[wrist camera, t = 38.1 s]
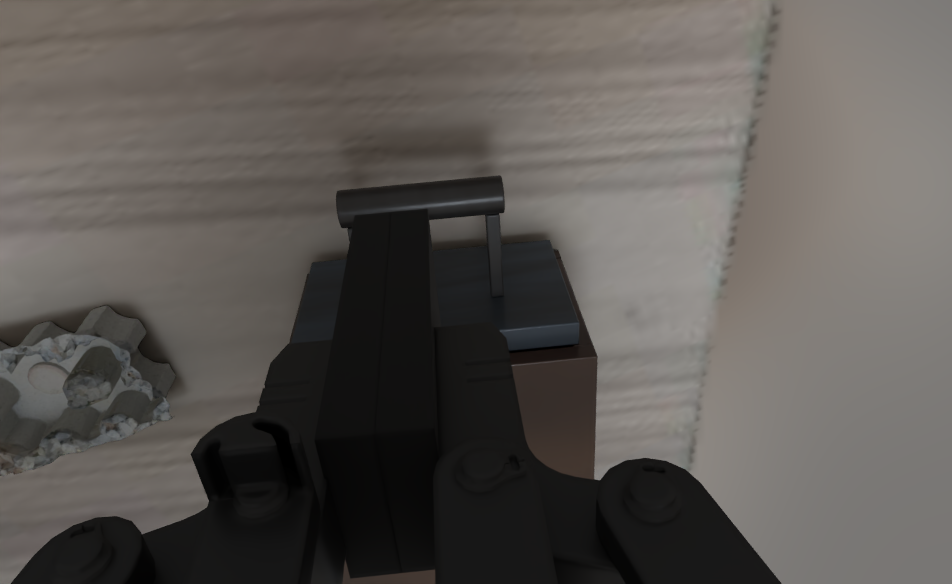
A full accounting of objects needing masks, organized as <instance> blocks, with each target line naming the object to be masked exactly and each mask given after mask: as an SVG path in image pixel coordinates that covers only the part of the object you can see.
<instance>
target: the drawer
mask: <svg viewBox="0 0 952 584" xmlns="http://www.w3.org/2000/svg"><path fill="white" fill-rule="evenodd" d="M336 206H337V214H338V219H339V223H340V226H341V227H342V228H348V229H347V230H348V236H349V241H350V239H351V233H352V228H353V222H354V217H355V215H364V214H374V213H385V212H396V211H406V210H417V209H427V208H428V217H429V220H434V219H444V218H455V217H465V216H476V215H485V221H486V236H487V246H481V247H470V248H460V249H449V250H439V251H433V260H434V268H435V277H436V286H437V294H438V303H439V311H440V322H441V327H442V326H453V325H463V324H473V323H483V322H492V323H493V324H494V325H495V326H496V327H497V328H498V329H499V331H500V332H501V333H502V334H503V335H504V336H505V337H506V339H507V344H508V349H509V353H515V352H525V351H535V350H545V349H555V348H554V346H564V345H574V344H579V320H578V318H577V315H576V312H575V309H574V306H573V304H572V301H571V298H570V295H569V292H568V290H567V287H566V284H565V281H564V278H563V276H562V273H561V270H560V267H559V264H558V262H557V259H556V256H555V253H554V250H553V248H552V245H551V242H550V240H543V241H533V242H522V243H512V244H502V245H501V233H500V216H499V213H504V210H505V204H504V190H503V182H502V177H501V176H489V177H479V178H468V179H457V180H447V181H436V182H425V183H414V184H404V185H393V186H382V187H371V188H361V189H350V190H339V191H337V194H336ZM346 261H347V259H345V260H335V261H324V262H314V263H312V266H311V269H310V273H309V277H308V281H307V284H306V288H305V292H304V296H303V299H302V303H301V307H300V311H299V314H298V318H297V322H296V326H295V329H294V333H293V337H292V341H291V343H300V342H311V341H321V340H331V339H333V333H334V328H335V322H336V317H337V311H338V305H339V300H340V294H341V289H342V283H343V278H344V272H345V267H346Z"/></svg>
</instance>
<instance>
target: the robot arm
mask: <svg viewBox="0 0 952 584" xmlns="http://www.w3.org/2000/svg"><path fill="white" fill-rule="evenodd" d="M264 385H265V388H263V391H262V394H261V397H260V401H259V403H260V406H258V408H257V411H256V412H254V413H250V414H245V415H241V416H237V417H234V418H232V419H230V420H228V421H226V422H224V423H222V424H219V425H217V426H216V427H214V428H213V429H212V430H211V431H210V432H208V433H207V434H206V435H205V436H204V437H202V438H201V439H200V440H199V442H198V444H197V445H196V447H195V448H194V450H193V451H192V453H191V456H192V459H193V461H194V464H195V466H196V469H197V471H198V474H199V477H200V479H201V482H202V484H203V487H204V489H205V492H206V494H207V497H208V499H209V503H208V507H207V508H205V509H204V510H202V511H201V512H199V513H197V514H195V515H193V516H191V517H188V518H186V519H184V520H181V521H179V522H176V523H173V524H170V525H167V526H165V527H162V528H159V529H156V530H153V531H151V532H148V533H145V534H141V532H140V531H139V530H138V528H137V527H136V526H135V525H134V523H133V522H132V521H129V520H126V519H123V518H120V517H117V516H113V517H99V518H94V519H91V520H88V521H85V522H82V523H79V524H76V525H73V526H72V527H70V528H68V529H67V530H65V531H63V532H62V533H60V534H58V535H57V536H55V537H54V538H52V539H51V540H50V541H49V542H48V543H47V544H46V545H44V546H43V547H42V548H41V549H40V550H39V551H38V552H37V553H36V554H35V555H34V556H33V557H32V558H31V560H30V561H29V562H28V563H27V565H26V566H25V567H24V568H23V569H22V571H21V572H20V573H19V574H18V575H17V577H16V578H15V579H14V580H13V582H12V583H11V584H342V583H343V573H344V564H345V560H346V564H347V568H348V572H349V576H350V579H352V578H361V577H371V576H380V575H389V574H399V573H408V572H417V571H427V570H435V584H781V582H780V581H779V580H778V579H777V578H776V576H775V575H774V574H773V572H772V571H771V570H770V569H769V567H768V566H767V565H766V564H765V563H764V561H763V560H762V559H761V558H760V556H759V555H758V554H757V553H756V551H755V550H754V549H753V548H752V546H751V545H750V544H749V543H748V542H747V540H746V539H745V538H744V536H743V535H742V534H741V533H740V532H739V530H738V529H737V528H736V526H735V525H734V524H733V523H732V522H731V520H730V519H729V518H728V517H727V515H726V514H725V513H724V512H723V511H722V509H721V508H720V507H719V506H718V504H717V503H716V502H715V500H714V499H713V498H712V497H711V496H710V494H709V493H708V492H707V490H706V489H705V488H704V487H703V485H702V484H701V483H700V482H699V481H698V480H696V479H695V478H694V477H693V476H692V475H691V474H690V473H689V472H687V471H686V470H685V469H683V468H681V467H678V466H676V465H674V464H672V463H669V462H667V461H662V460H656V459H649V458H642V459H634V460H627V461H624V462H622V463H620V464H618V465H616V466H614V467H612V468H610V469H609V470H608V471H607V473H606V474H605V475H604V476H603V478H602V479H601V480H593V479H587V478H581V477H575V476H571V475H567V474H563V473H560V472H558V471H556V470H554V469H551V468H549V467H547V466H546V465H545V464H543V463H542V462H541V461H540V460H538V459H537V458H536V457H535V455H534V454H533V453H532V452H531V450H530V449H529V447H528V444H527V441H526V438H525V433H524V428H523V423H522V417H521V412H520V407H519V402H518V396H517V391H516V386H515V381H514V377H513V370H512V365H511V361H510V354H509V349H508V344H507V339H506V337H505V336H504V335H503V334H502V333H501V332H500V331H499V329H498V328H497V327H496V326H495V325H494V324H493V323H492V322H483V323H473V324H463V325H453V326H442V327H441V322H440V311H439V303H438V294H437V286H436V277H435V268H434V260H433V251H432V243H431V234H430V225H429V217H428V208H427V209H417V210H406V211H396V212H385V213H374V214H364V215H355V217H354V222H353V228H352V233H351V239H350V244H349V250H348V255H347V261H346V267H345V272H344V278H343V283H342V289H341V294H340V300H339V305H338V311H337V317H336V322H335V328H334V333H333V339H331V340H321V341H311V342H300V343H290V344H287V346H286V347H285V348H284V349H283V350H282V351H281V352H280V353H279V354H278V356H277V357H276V358H275V359H274V360H273V361H272V362H271V364H270V367H269V370H268V374H267V377H266V381H265V384H264Z"/></svg>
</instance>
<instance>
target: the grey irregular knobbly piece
mask: <svg viewBox="0 0 952 584" xmlns="http://www.w3.org/2000/svg"><path fill="white" fill-rule="evenodd" d="M145 334H146V330H145V328H144V327H143V326H142V324H141V322H140V321H139V320H138V319H132V318H127V317H123V316H121V315H119V314H117V313H115V312H114V311H113V310H112V309H111V308H110V307H109V306H102V307H99V308H96V309H93V310H91V311H90V312H89V314H88V316H87V317H86V318H85V319H84V321H83V323H82V324H81V325H80V326H79V328H78V330H77V331H76V332H75V333H72V332H68V331H65V330H64V329H61V328H59V327H58V326H56V325H55V324H54V323H53V322H52V321H50V322H44V323H41V324H37V325H36V326H35V327H34V328H33V329H32V330H31V331H30V333H29V334H28V335H27V336H26V337H25V339H24V340H23V342H22V343H21V344H19V345H18V346H17V347H10V346H8V345H6V344H4V343H3V342H2V341H0V476H5V475H8V474H10V473H13V474H18V473H22V472H24V471H26V470H31V469H33V470H34V469H36V468H38V467H41V466H44V465H46V464H49V463H52V462H53V461H54V460H55V459H57V458H58V457H59V456H62V455H65V454H70V453H79V452H84V451H85V450H87V449H88V448H90V447H93V446H96V445H100V444H103V443H106V442H109V441H118V440H122V439H124V438H126V437H128V436H130V435H132V434H135V433H137V432H139V431H140V430H142V429H144V428H145V427H148V426H151V425H153V424H155V423H156V422H158V421H167V420H170V419H172V418H173V417H171V416H170V414H169V408H170V405H169V403H168V402H167V400H166V399H165V398H166V396H167V393H168V391H169V389H170V387H171V386H172V383H173V381H174V379H175V378H176V376H175V374H174V372H173V371H172V369H171V368H170V365H169V364H168V363H165V364H161V363H155V362H153V361H151V360H149V359H148V358H145V357H144V356H143V355H142V354H141V353H140V350H139V349H138V348H137V347H138V345H139V344H140V342H141V340H142V339H143V337H144V336H145Z"/></svg>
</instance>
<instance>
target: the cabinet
mask: <svg viewBox="0 0 952 584" xmlns="http://www.w3.org/2000/svg"><path fill="white" fill-rule="evenodd" d="M554 253H555V256H556V259H557V262H558V264H559V267H560V270H561V273H562V276H563V278H564V281H565V284H566V287H567V290H568V292H569V295H570V298H571V301H572V304H573V306H574V309H575V312H576V315H577V318H578V320H579V344H574V345H564V346H554V348H555V349H545V350H535V351H525V352H515V353H509V354H510V361H511V365H512V370H513V377H514V381H515V386H516V391H517V396H518V402H519V407H520V412H521V417H522V423H523V428H524V433H525V438H526V441H527V444H528V447H529V449H530V450H531V452H532V453H533V454H534V455H535V457H536V458H537V459H538V460H540V461H541V462H542V463H543V464H545V465H546V466H547V467H549V468H551V469H554V470H556V471H558V472H560V473H563V474H567V475H571V476H575V477H581V478H587V479H593V480H594V461H595V426H596V390H597V354H596V351H595V349H594V346H593V344H592V341H591V338H590V336H589V333H588V330H587V328H586V325H585V322H584V319H583V317H582V314H581V311H580V309H579V306H578V303H577V300H576V298H575V295H574V292H573V290H572V287H571V284H570V282H569V279H568V276H567V273H566V271H565V268H564V265H563V263H562V260H561V256H560V254H559V251H558V250H554ZM308 277H309V274H307V278H306V282H305V286H304V290H303V293H302V297H301V301H300V305H299V308H298V312H297V316H296V319H295V323H294V327H293V330H292V334H291V338H290V342H289V344H290V343H291V341H292V337H293V333H294V329H295V326H296V322H297V318H298V314H299V311H300V307H301V303H302V299H303V296H304V292H305V288H306V284H307V281H308ZM342 584H435V570H427V571H417V572H408V573H399V574H389V575H380V576H371V577H361V578H352V579H350V576H349V572H348V568H347V564H346V560H345V564H344V573H343V583H342Z"/></svg>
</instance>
